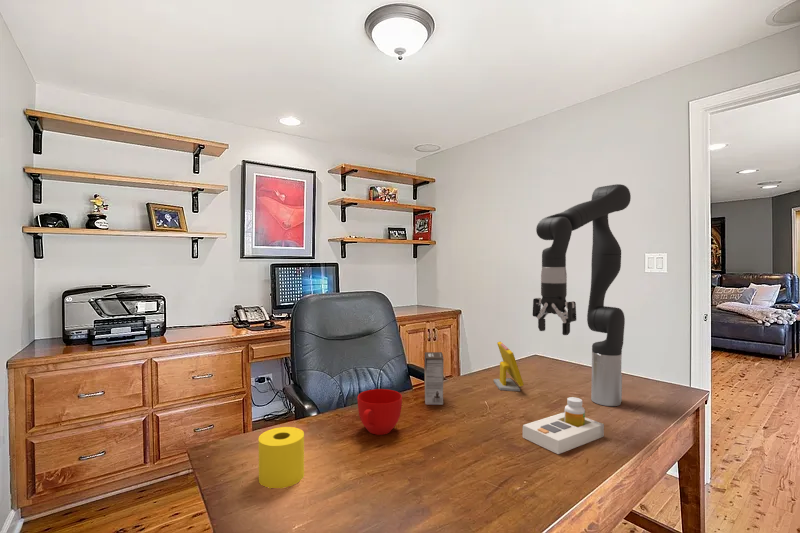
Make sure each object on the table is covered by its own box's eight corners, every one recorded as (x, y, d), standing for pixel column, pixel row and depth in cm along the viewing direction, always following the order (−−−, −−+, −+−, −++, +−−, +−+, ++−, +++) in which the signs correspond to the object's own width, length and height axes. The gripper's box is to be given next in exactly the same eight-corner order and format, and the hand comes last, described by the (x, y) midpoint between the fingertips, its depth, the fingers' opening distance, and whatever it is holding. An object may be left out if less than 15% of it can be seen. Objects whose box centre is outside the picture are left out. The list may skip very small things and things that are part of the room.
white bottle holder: (567, 422, 127) (567, 409, 126) (603, 436, 117) (603, 422, 117) (522, 437, 116) (522, 423, 116) (558, 454, 106) (558, 439, 106)
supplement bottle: (586, 437, 116) (587, 403, 116) (566, 436, 117) (566, 401, 117) (582, 430, 121) (582, 396, 121) (562, 428, 122) (563, 395, 122)
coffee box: (424, 395, 150) (424, 351, 150) (441, 395, 150) (442, 351, 150) (425, 404, 141) (425, 357, 141) (443, 405, 141) (444, 358, 141)
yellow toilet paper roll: (260, 492, 89) (260, 449, 88) (256, 470, 98) (256, 431, 97) (307, 482, 93) (307, 441, 92) (299, 462, 102) (299, 424, 101)
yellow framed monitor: (523, 394, 152) (524, 351, 152) (502, 394, 152) (502, 351, 152) (510, 378, 172) (510, 340, 172) (491, 378, 172) (491, 340, 172)
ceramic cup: (342, 441, 113) (342, 405, 113) (368, 418, 129) (368, 386, 129) (387, 449, 109) (387, 411, 108) (408, 424, 124) (408, 391, 124)
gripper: (581, 282, 126) (581, 335, 127) (542, 279, 138) (542, 328, 138) (566, 283, 122) (566, 338, 122) (527, 280, 134) (527, 330, 134)
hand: (553, 332), depth 130 cm, fingers open, 8 cm apart
